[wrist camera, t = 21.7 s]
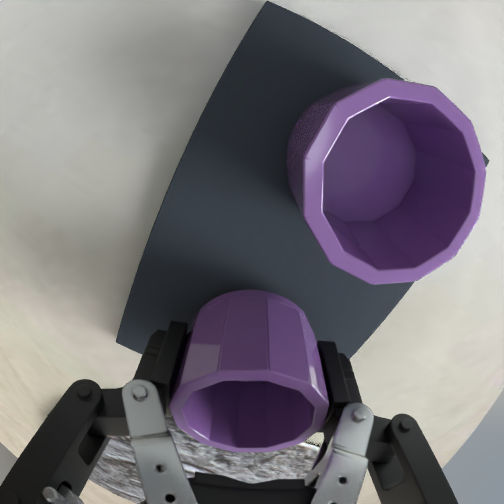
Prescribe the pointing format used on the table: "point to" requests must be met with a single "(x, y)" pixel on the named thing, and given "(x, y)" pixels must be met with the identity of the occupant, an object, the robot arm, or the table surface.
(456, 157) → the purple hollow cylinder
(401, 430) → the robot arm
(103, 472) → the ancient coin
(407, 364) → the table surface
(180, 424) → the purple faceted cup
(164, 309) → the mat
